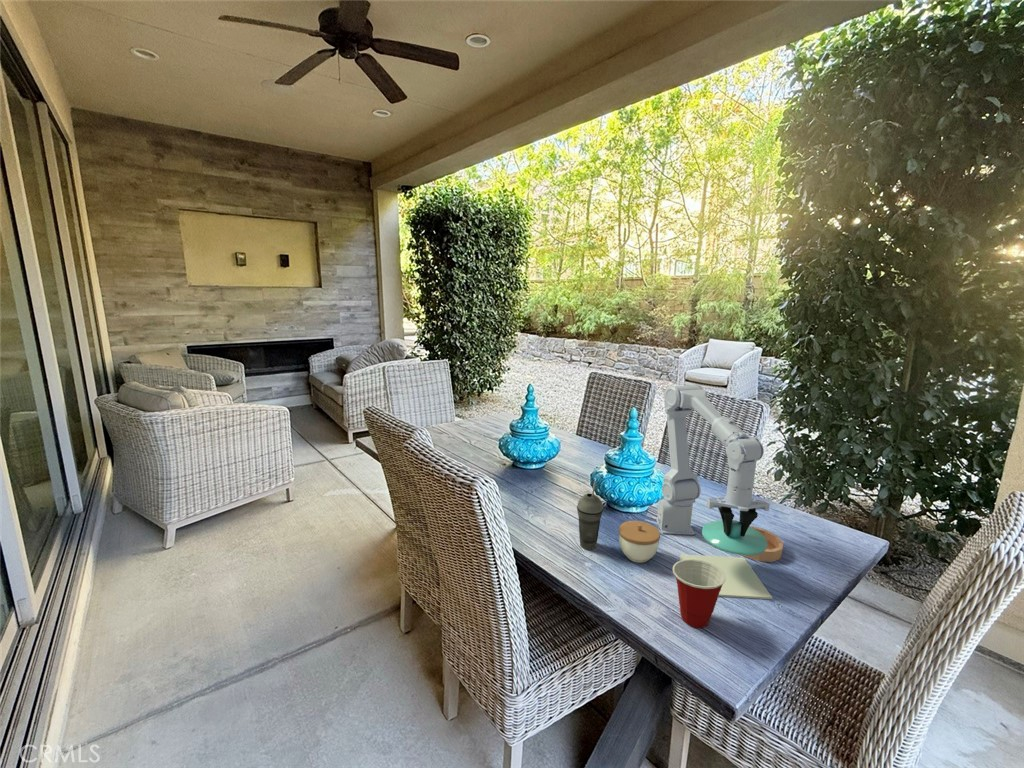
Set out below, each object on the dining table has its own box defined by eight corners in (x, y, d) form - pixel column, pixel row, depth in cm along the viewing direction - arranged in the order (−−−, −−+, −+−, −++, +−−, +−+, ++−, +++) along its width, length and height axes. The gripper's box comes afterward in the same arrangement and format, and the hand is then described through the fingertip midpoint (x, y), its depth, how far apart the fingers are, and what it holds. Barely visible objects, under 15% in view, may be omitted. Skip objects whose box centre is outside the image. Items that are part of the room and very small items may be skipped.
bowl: (740, 563, 124) (741, 550, 123) (722, 536, 136) (723, 525, 136) (790, 565, 123) (792, 552, 122) (767, 539, 135) (769, 527, 135)
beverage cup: (585, 535, 135) (588, 472, 130) (606, 545, 130) (610, 480, 125) (569, 545, 130) (572, 479, 125) (591, 556, 125) (594, 488, 120)
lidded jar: (651, 573, 118) (654, 540, 116) (611, 559, 123) (613, 528, 121) (662, 552, 127) (665, 521, 125) (624, 541, 132) (626, 511, 130)
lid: (712, 553, 111) (713, 537, 110) (695, 522, 125) (696, 507, 124) (777, 557, 109) (779, 540, 108) (752, 524, 124) (754, 510, 123)
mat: (698, 595, 110) (698, 593, 109) (679, 556, 125) (679, 554, 125) (771, 599, 108) (772, 597, 108) (743, 559, 124) (743, 557, 124)
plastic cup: (685, 595, 109) (690, 550, 107) (729, 621, 101) (735, 573, 98) (658, 615, 103) (662, 567, 100) (702, 644, 95) (708, 594, 92)
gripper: (716, 490, 110) (710, 541, 113) (778, 493, 109) (770, 544, 112) (706, 478, 117) (700, 526, 120) (764, 480, 116) (757, 529, 119)
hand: (733, 534), depth 117 cm, fingers closed on lid, 3 cm apart
